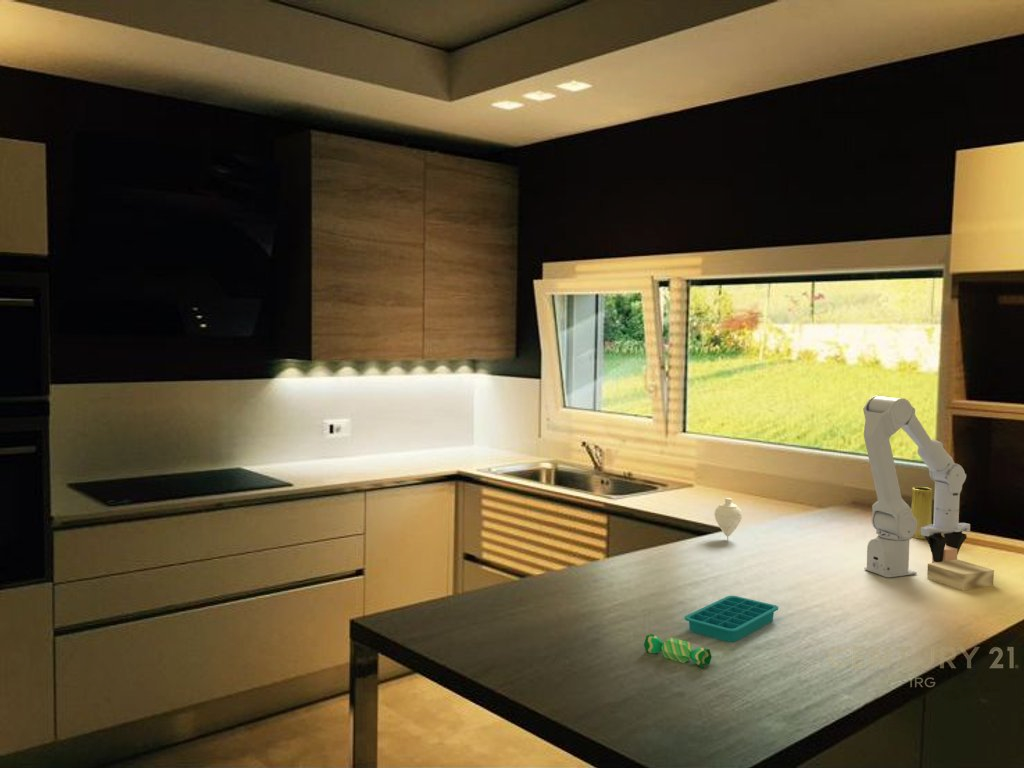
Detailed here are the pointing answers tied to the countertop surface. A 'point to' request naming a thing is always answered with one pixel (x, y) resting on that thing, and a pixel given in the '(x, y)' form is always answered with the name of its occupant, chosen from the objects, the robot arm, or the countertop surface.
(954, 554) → the terracotta block
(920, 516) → the vase
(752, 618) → the ice cube tray
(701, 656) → the candy
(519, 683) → the countertop surface
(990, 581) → the beech block
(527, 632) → the countertop surface
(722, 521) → the spinning top
